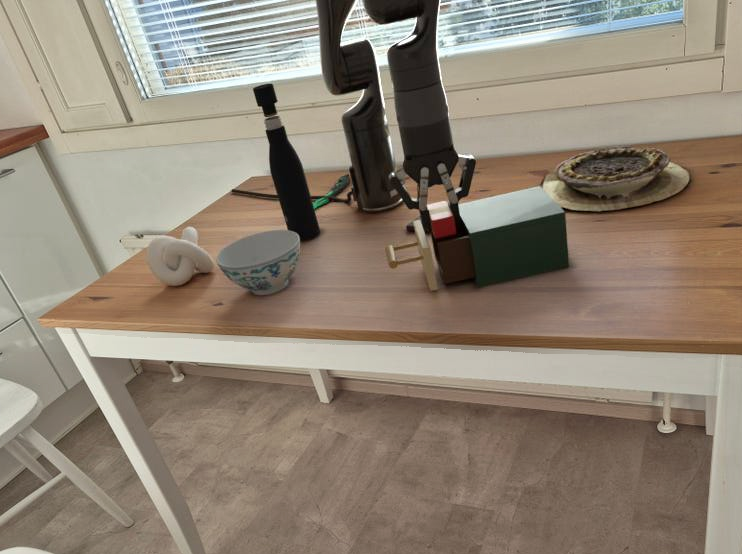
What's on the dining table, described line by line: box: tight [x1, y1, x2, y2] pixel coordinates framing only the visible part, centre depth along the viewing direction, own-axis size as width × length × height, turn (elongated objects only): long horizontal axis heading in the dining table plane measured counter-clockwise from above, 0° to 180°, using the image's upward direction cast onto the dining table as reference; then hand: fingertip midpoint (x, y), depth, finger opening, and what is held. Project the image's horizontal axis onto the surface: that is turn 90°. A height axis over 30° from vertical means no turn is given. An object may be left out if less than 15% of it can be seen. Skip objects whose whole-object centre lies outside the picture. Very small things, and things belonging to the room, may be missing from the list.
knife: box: [312, 173, 351, 210], centre depth 162 cm, size 23×1×5 cm
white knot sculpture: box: [145, 226, 215, 287], centre depth 133 cm, size 11×12×9 cm
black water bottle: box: [252, 83, 321, 243], centre depth 133 cm, size 6×6×30 cm
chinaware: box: [215, 229, 301, 296], centre depth 120 cm, size 15×15×8 cm
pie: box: [538, 145, 690, 212], centre depth 130 cm, size 28×27×5 cm
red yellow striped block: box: [427, 200, 457, 239], centre depth 106 cm, size 8×3×3 cm, turn 6°
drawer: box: [384, 219, 476, 292], centre depth 109 cm, size 19×12×7 cm, turn 96°
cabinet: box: [458, 185, 570, 288], centre depth 109 cm, size 15×14×9 cm
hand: (441, 227), depth 107 cm, fingers closed on red yellow striped block, 3 cm apart
